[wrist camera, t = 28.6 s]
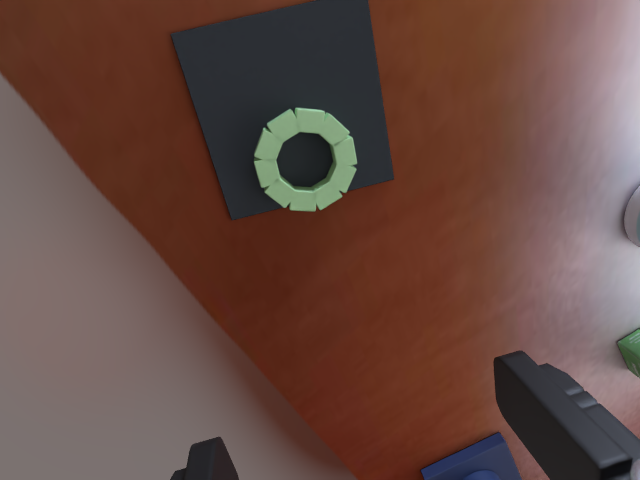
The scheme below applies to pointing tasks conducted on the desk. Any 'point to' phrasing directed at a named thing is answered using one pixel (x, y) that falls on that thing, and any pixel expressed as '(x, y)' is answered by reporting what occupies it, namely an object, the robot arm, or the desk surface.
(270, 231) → the desk surface
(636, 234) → the pill bottle
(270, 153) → the ring
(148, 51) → the desk surface
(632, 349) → the ink box
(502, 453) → the stand
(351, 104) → the mat
